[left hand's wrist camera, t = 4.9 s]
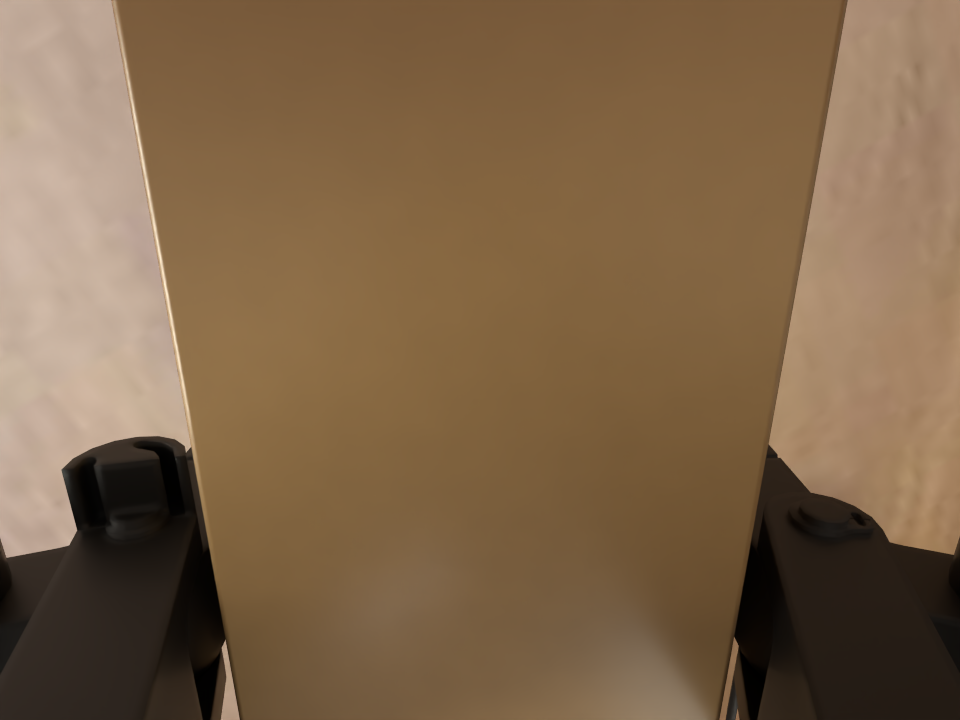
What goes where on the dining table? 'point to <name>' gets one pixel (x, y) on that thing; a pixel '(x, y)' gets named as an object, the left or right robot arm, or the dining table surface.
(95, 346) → the dining table surface
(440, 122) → the bar
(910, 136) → the dining table surface
